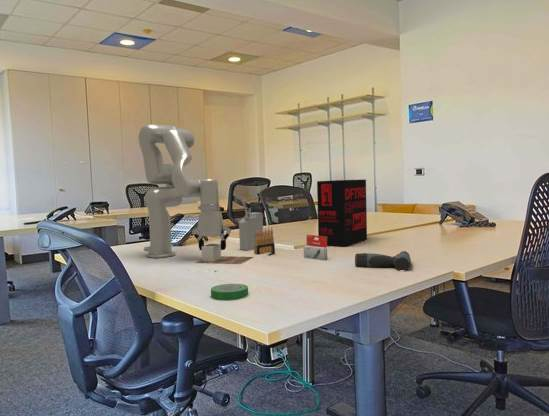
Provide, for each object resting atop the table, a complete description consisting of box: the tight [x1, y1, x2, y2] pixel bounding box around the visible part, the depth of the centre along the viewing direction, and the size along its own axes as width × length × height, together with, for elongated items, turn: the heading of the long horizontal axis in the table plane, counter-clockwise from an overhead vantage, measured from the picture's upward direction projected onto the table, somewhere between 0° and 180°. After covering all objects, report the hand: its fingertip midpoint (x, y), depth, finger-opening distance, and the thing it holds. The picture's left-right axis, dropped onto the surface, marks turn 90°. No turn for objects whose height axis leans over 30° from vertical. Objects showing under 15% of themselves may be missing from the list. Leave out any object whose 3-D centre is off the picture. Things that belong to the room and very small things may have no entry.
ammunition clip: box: [253, 227, 276, 256], centre depth 202 cm, size 11×2×12 cm, turn 132°
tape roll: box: [210, 283, 249, 301], centre depth 135 cm, size 11×11×3 cm
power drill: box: [354, 251, 412, 271], centre depth 173 cm, size 5×19×20 cm
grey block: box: [201, 243, 222, 261], centre depth 189 cm, size 5×8×6 cm, turn 163°
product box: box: [316, 179, 368, 248], centre depth 232 cm, size 26×14×32 cm, turn 145°
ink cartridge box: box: [303, 234, 329, 261], centre depth 190 cm, size 2×11×10 cm, turn 47°
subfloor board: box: [194, 255, 255, 265], centre depth 187 cm, size 20×16×1 cm
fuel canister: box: [238, 198, 264, 251], centre depth 222 cm, size 15×5×25 cm, turn 144°
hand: (212, 249), depth 189 cm, fingers open, 9 cm apart
